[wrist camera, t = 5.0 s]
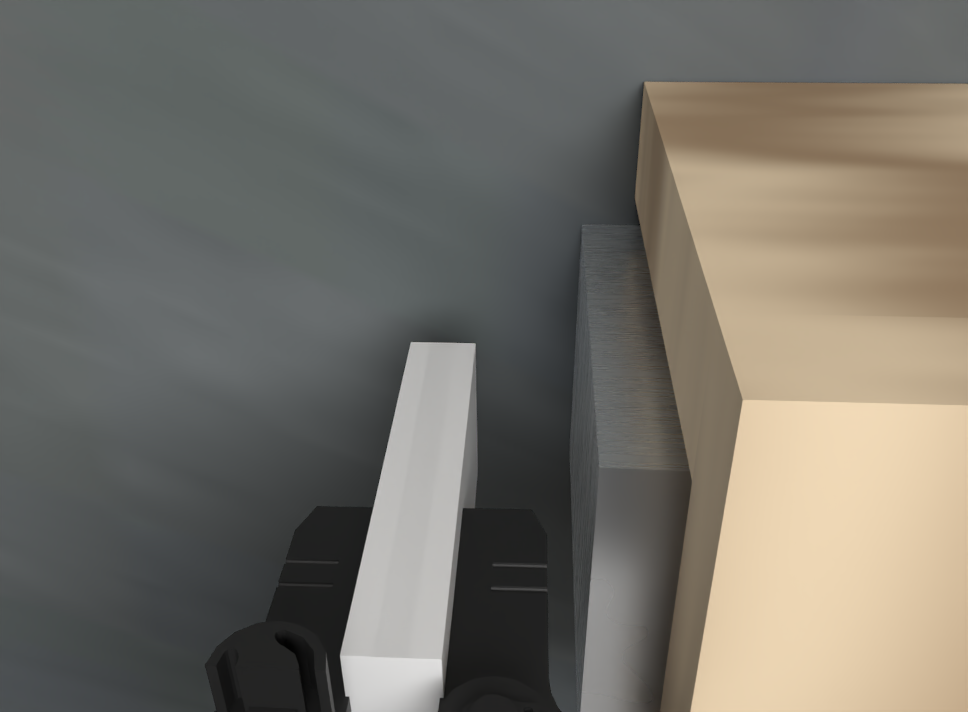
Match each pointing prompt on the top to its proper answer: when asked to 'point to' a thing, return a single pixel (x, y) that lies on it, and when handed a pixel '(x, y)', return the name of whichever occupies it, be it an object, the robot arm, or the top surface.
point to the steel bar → (623, 479)
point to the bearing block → (815, 389)
